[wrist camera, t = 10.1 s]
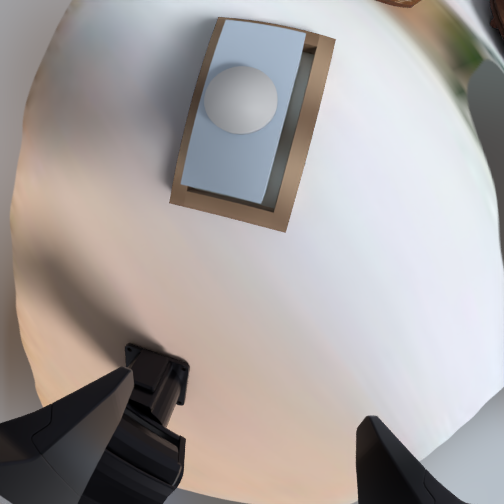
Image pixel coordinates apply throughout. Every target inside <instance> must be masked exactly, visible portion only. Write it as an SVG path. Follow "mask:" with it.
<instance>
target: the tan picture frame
mask: <svg viewBox="0 0 504 504" xmlns="http://www.w3.org/2000/svg"><path fill="white" fill-rule="evenodd" d="M226 20H234V21H243V22H250V23H257V24H264V25H270V26H275V27H280V28H285V29H290V30H294V31H299V32H303V33H306V36H305V41H304V45H303V50H302V55H301V60H300V64H299V68H298V72H297V76H296V79H295V83H294V87H293V91H292V95H291V98H290V102H289V106H288V110H287V113H286V117H285V121H284V125H283V129H282V132H281V136H280V140H279V144H278V148H277V151H276V155H275V159H274V163H273V166H272V170H271V174H270V178H269V182H268V185H267V189H266V193H265V195H264V198H263V200H262V202H261V204H260V203H256V202H252V201H248V200H244V199H240V198H236V197H232V196H228V195H224V194H220V193H216V192H212V191H208V190H203V189H199V188H195V187H190V186H186V185H181V180H182V175H183V170H184V165H185V160H186V156H187V151H188V147H189V143H190V138H191V134H192V130H193V126H194V122H195V118H196V114H197V110H198V107H199V103H200V99H201V96H202V92H203V88H204V85H205V82H206V78H207V75H208V72H209V68H210V65H211V62H212V59H213V56H214V53H215V50H216V47H217V44H218V41H219V38H220V35H221V32H222V29H223V26H224V24H225V21H226ZM335 40H336V39H333V38H330V37H327V36H323V35H320V34H316V33H312V32H309V31H305V30H300V29H296V28H292V27H287V26H282V25H277V24H271V23H266V22H259V21H252V20H244V19H235V18H225V17H218V20H217V22H216V25H215V28H214V31H213V33H212V36H211V39H210V42H209V45H208V48H207V51H206V54H205V57H204V60H203V63H202V67H201V70H200V73H199V76H198V80H197V83H196V87H195V90H194V94H193V97H192V101H191V105H190V109H189V112H188V116H187V120H186V124H185V128H184V133H183V137H182V141H181V146H180V150H179V155H178V160H177V164H176V169H175V174H174V180H173V185H172V190H171V196H170V202H169V203H171V204H175V205H179V206H183V207H187V208H191V209H196V210H200V211H204V212H208V213H212V214H216V215H220V216H224V217H228V218H231V219H235V220H239V221H243V222H247V223H251V224H255V225H258V226H262V227H266V228H270V229H273V230H277V231H281V232H285V233H286V229H287V226H288V222H289V219H290V215H291V212H292V208H293V205H294V201H295V198H296V194H297V190H298V187H299V183H300V180H301V176H302V172H303V169H304V165H305V161H306V157H307V154H308V150H309V146H310V142H311V139H312V135H313V131H314V127H315V123H316V119H317V115H318V111H319V107H320V103H321V99H322V95H323V91H324V87H325V83H326V79H327V75H328V71H329V66H330V62H331V58H332V53H333V49H334V45H335Z"/></svg>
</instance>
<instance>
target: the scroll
mask: <svg viewBox="0 0 504 504" xmlns="http://www.w3.org/2000/svg"><path fill="white" fill-rule="evenodd" d="M490 6H491V10H492V14H493V17H494V18H493V19H492V20H491V22H490V26H491V27H492V28H498V29H499V32H500V34H501V36H502V38H503V40H504V0H490Z"/></svg>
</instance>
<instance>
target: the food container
mask: <svg viewBox="0 0 504 504" xmlns="http://www.w3.org/2000/svg"><path fill="white" fill-rule="evenodd" d="M376 1H379V2H382V3H385V4H389V5H393V6H398V7H407V8H411V7H413V6H414V5H415V4H417V3H418V2H420V1H421V0H376Z"/></svg>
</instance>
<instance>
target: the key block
mask: <svg viewBox="0 0 504 504" xmlns="http://www.w3.org/2000/svg"><path fill="white" fill-rule="evenodd" d="M305 36H306V33H303V32H299V31H294V30H290V29H285V28H280V27H275V26H270V25H264V24H257V23H250V22H243V21H234V20H226V21H225V24H224V26H223V29H222V32H221V35H220V38H219V41H218V44H217V47H216V50H215V53H214V56H213V59H212V62H211V65H210V68H209V72H208V75H207V78H206V82H205V85H204V88H203V92H202V96H201V99H200V103H199V107H198V110H197V114H196V118H195V122H194V126H193V130H192V134H191V138H190V143H189V147H188V151H187V156H186V160H185V165H184V170H183V175H182V180H181V185H186V186H190V187H195V188H199V189H203V190H208V191H212V192H216V193H220V194H224V195H228V196H232V197H236V198H240V199H244V200H248V201H252V202H256V203H260V204H261V202H262V200H263V198H264V195H265V193H266V189H267V185H268V182H269V178H270V174H271V170H272V166H273V163H274V159H275V155H276V151H277V148H278V144H279V140H280V136H281V132H282V129H283V125H284V121H285V117H286V113H287V110H288V106H289V102H290V98H291V95H292V91H293V87H294V83H295V79H296V76H297V72H298V68H299V64H300V60H301V55H302V50H303V45H304V41H305Z"/></svg>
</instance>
